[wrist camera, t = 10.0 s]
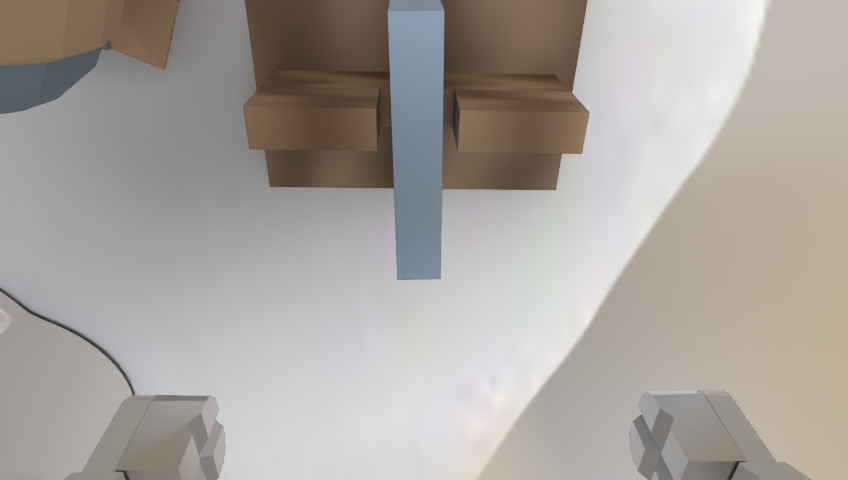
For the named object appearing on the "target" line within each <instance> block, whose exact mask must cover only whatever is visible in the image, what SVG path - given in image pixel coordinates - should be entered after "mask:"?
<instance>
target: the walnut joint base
mask: <svg viewBox="0 0 848 480" xmlns="http://www.w3.org/2000/svg"><path fill="white" fill-rule="evenodd" d="M389 2H390V0H245V4H246V11H247V18H248V26H249V33H250V41H251V48H252V56H253V63H254V71H255V78H256V86H257V91H256V92H255V93H254V94H253V96H252V97H251V98H250V99H249V100H248V102H247V103H246V104H245V105H244V106H243V109H244V116H245V122H246V129H247V136H248V142H249V149H265V153H266V161H267V168H268V175H269V183H270V187H338V188H394V173H393V145H392V117H391V89H390V61H389V34H388V7H389ZM441 3H442V6H443V8H444V75H443V144H442V189H509V190H556V185H557V179H558V173H559V167H560V161H561V155H562V153H565V154H582V150H583V144H584V139H585V134H586V128H587V123H588V117H589V111H588V110H587V109H586V108H585V107H584V106H583V105H582V104H581V103H580V102H579V100H578V99H577V98H576V97H575V96H574V95H573V94H572V89H573V83H574V77H575V71H576V65H577V59H578V53H579V47H580V41H581V35H582V29H583V23H584V17H585V11H586V5H587V0H441Z"/></svg>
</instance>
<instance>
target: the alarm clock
mask: <svg viewBox="0 0 848 480" xmlns="http://www.w3.org/2000/svg"><path fill="white" fill-rule="evenodd" d="M178 2H179V0H0V114H3V113H11V112H18V111H23V110H26V109H29V108H32V107H35V106H38V105H41V104H44V103H46V102H49V101H52V100H55V99H57V98H59V97H60V96H61V95H62V94H63V93H65V92H66V91H67V90H68V89H69V88H71V87H72V86H73V85H74V84H75V83H77V82H78V81H79V80H80V79H81V78H82V77H83V76H85V75H86V74H87V73H88V72H89V71H90V70H92V69H93V68H94V67H95V66H96V64H97V60H98V57H99V54H100V51H101V48H103V49H105V50H109V49H111V48H112V49H114V50H117V51H119V52H122V53H124V54H127V55H129V56H132V57H134V58H136V59H139V60H141V61H144V62H146V63H149V64H151V65H154V66H156V67H159V68H161V69H165V67H166V62H167V57H168V52H169V47H170V42H171V37H172V32H173V27H174V22H175V17H176V12H177V7H178Z"/></svg>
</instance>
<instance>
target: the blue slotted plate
mask: <svg viewBox="0 0 848 480" xmlns="http://www.w3.org/2000/svg"><path fill="white" fill-rule="evenodd" d="M388 34H389V61H390V89H391V117H392V145H393V173H394V201H395V229H396V256H397V280H414V279H441V213H442V144H443V75H444V8H443V6H442V3H441V0H390V2H389V7H388Z"/></svg>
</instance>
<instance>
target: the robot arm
mask: <svg viewBox="0 0 848 480" xmlns="http://www.w3.org/2000/svg"><path fill="white" fill-rule="evenodd" d="M638 406H639V408H640V411H641V413H642V414H641V415H640V416H639V417H638V418H636V419H635V420H634V421H633V422H632V426H631V430H630V450H631V454H632V458H633V461H634V463H635V466H636V468H637V471H638V472H639V473H641V474H642V475H643V476H644V477H645V478H646V479H648V480H811V479H810V478H808V477H807V476H805V475H804V474H802V473H801V472H799V471H797V470H796V469H795V468H793V467H792V466H790V465H789V464H787V463H786V462H777V461H776V460H775V459H774V457H773V456H772V454H771V453H770V451H769V450H768V448H767V447H766V446H765V444H764V443H763V441H762V440H761V438H760V437H759V436H758V434H757V433H756V431H755V430H754V428H753V427H752V425H751V424H750V422H749V421H748V420H747V418H746V417H745V415H744V414H743V412H742V411H741V410H740V408H739V407H738V405H737V404H736V402H735V401H734V399H733V398H732V396H731V395H730V394H729V393H727V392H726V391H724V390H698V391H694V390H685V391H683V390H682V391H646V392H645V393H644V394H642V395H641V398H640V401H639V403H638ZM218 411H219V408H218V405H217V402H216V398H215V397H212V396H179V395H157V396H153V395H132V392H131V389H130V387H129V385H128V383H127V381H126V380H125V378H124V376H123V375H122V373H121V372H120V371H119V369H118V368H117V367H116V366H115V365H114V364H113V363H112V362H111V360H109V359H108V358H107V357H106V356H105V355H104V354H103V353H102V352H101V351H99V350H98V349H97V348H95V347H94V346H93V345H91V344H90V343H88V342H87V341H85V340H84V339H82V338H81V337H79V336H77V335H75V334H74V333H72V332H70V331H68V330H66V329H64V328H62V327H59V326H57V325H55V324H52V323H50V322H48V321H45V320H43V319H41V318H38V317H36V316H34V315H32V314H31V313H29V312H27V311H26V310H24V309H23V308H22V307H21V306H20V305H18V304H17V303H16V302H14V301H13V300H12V299H11V298H9V297H8V296H6V295H5V294H4V293H2V292H1V291H0V480H217V479H218V478H219V476H220V472H221V469H222V466H223V462H224V455H225V447H226V446H225V433H224V429H223V426H222V425H221V424H220V423H218V422H217V421H216V420H215V419H216V416H217V413H218Z"/></svg>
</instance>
